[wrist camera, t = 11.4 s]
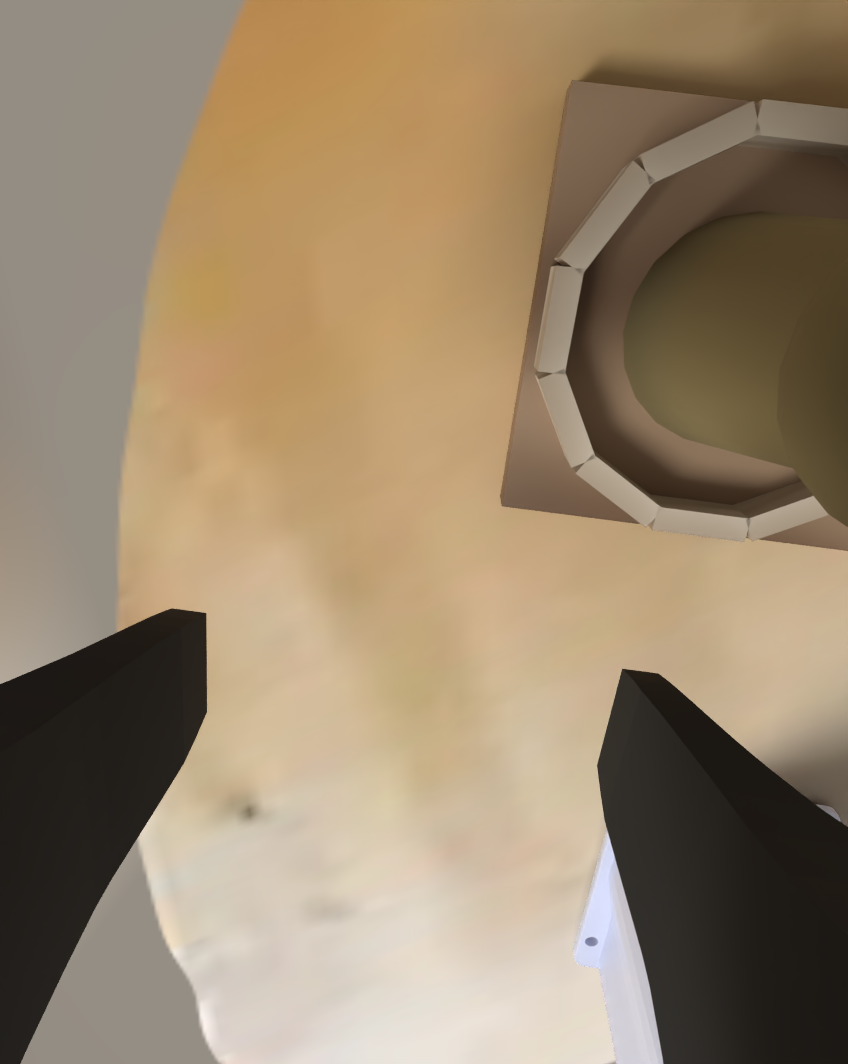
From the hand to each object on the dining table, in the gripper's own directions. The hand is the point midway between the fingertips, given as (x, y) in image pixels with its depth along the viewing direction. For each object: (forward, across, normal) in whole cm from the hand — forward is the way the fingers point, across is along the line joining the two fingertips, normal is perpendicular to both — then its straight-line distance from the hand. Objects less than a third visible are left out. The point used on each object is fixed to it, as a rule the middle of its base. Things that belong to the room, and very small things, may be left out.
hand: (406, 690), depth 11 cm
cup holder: (+10, -8, -6) cm, 14 cm away
